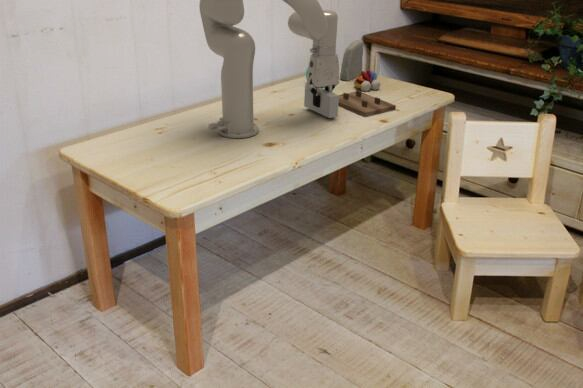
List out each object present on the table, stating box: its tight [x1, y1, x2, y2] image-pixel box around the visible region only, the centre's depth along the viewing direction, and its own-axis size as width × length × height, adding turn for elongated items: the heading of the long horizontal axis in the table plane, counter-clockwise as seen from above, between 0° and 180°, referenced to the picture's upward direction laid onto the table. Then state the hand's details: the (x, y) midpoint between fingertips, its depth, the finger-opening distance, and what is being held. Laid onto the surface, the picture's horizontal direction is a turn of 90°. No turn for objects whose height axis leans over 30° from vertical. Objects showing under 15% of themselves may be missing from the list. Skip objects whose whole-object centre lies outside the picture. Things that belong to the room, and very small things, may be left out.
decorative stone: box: [339, 39, 364, 82], centre depth 249 cm, size 11×6×15 cm, turn 143°
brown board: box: [338, 89, 397, 118], centre depth 221 cm, size 14×20×4 cm
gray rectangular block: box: [303, 85, 340, 119], centre depth 210 cm, size 4×14×7 cm, turn 35°
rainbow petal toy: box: [353, 69, 382, 92], centre depth 238 cm, size 8×10×7 cm
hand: (321, 104), depth 211 cm, fingers closed on gray rectangular block, 3 cm apart
